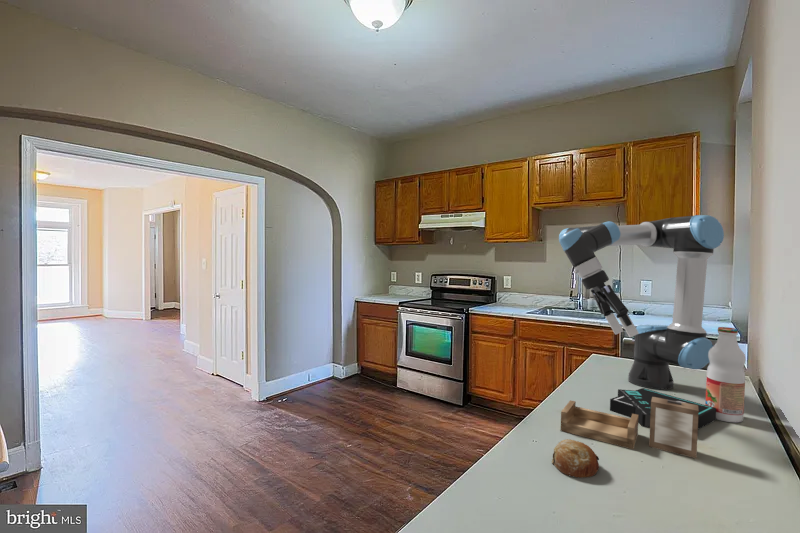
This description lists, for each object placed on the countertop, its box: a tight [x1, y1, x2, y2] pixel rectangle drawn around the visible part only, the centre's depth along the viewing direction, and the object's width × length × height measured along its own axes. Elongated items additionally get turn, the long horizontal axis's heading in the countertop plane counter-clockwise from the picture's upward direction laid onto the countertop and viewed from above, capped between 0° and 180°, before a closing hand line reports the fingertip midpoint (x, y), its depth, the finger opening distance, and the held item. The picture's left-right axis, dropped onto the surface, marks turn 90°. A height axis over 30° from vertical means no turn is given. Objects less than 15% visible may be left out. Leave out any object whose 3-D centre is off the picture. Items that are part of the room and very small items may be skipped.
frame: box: [648, 397, 699, 459], centre depth 105 cm, size 10×5×12 cm, turn 55°
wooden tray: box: [560, 400, 639, 450], centre depth 114 cm, size 18×11×6 cm, turn 55°
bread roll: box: [551, 438, 600, 478], centre depth 95 cm, size 10×10×8 cm
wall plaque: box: [609, 387, 717, 430], centre depth 128 cm, size 30×4×30 cm
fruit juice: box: [704, 326, 746, 424], centre depth 126 cm, size 9×9×28 cm
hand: (626, 334), depth 128 cm, fingers open, 13 cm apart
